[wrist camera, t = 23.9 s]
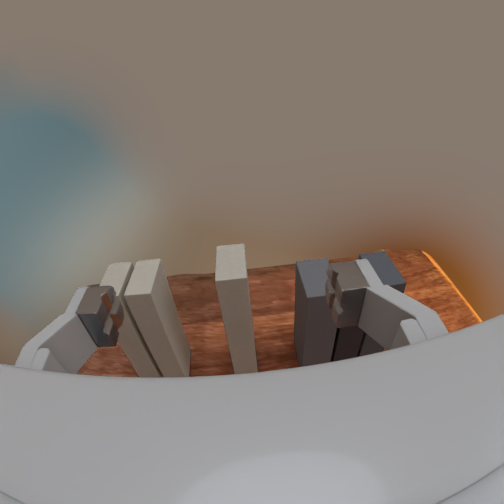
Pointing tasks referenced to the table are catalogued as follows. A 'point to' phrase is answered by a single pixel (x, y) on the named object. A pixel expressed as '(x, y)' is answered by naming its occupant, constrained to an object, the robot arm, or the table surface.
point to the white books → (149, 320)
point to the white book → (236, 306)
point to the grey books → (320, 315)
